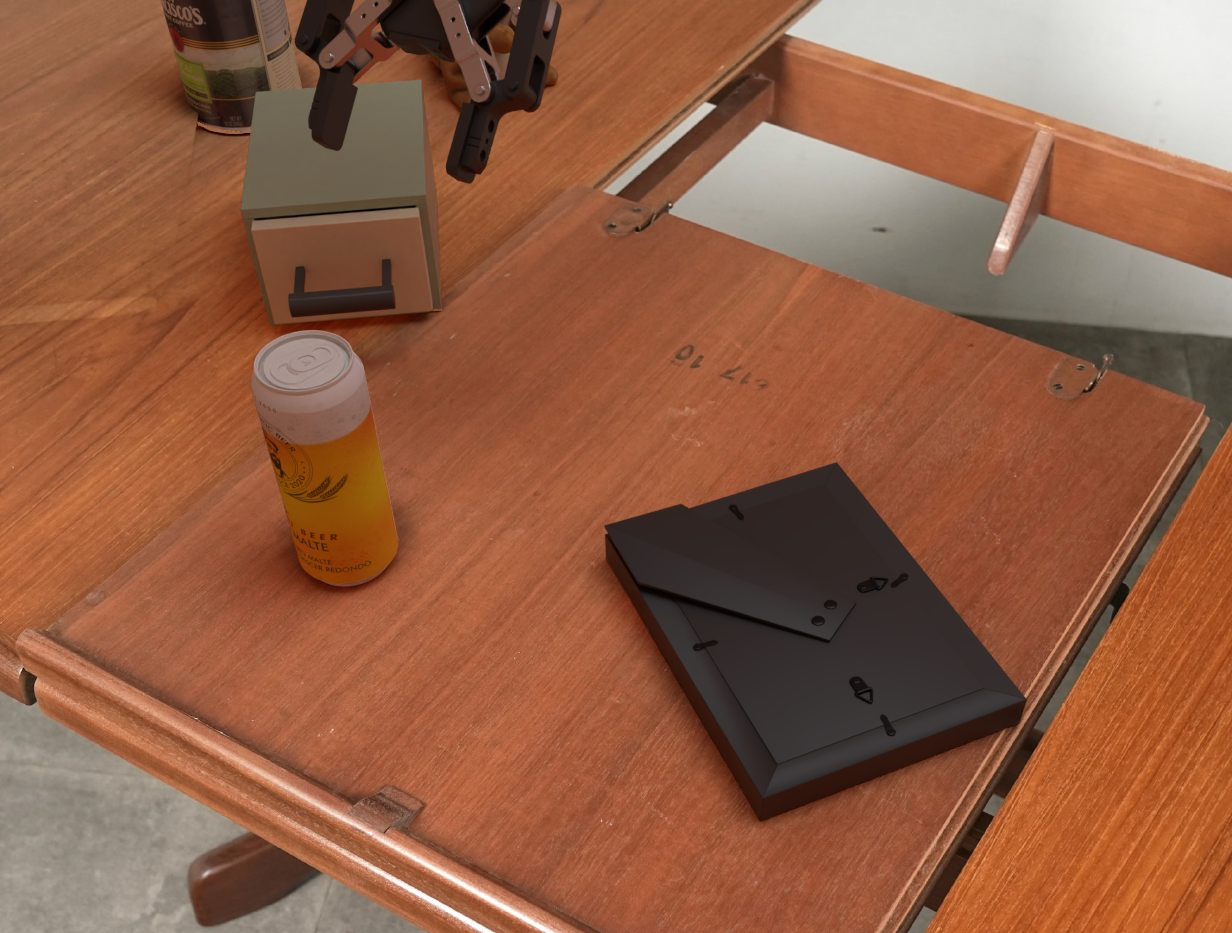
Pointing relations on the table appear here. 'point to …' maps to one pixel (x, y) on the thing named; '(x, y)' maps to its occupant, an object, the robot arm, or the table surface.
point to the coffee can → (231, 55)
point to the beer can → (325, 455)
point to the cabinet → (343, 164)
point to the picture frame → (807, 637)
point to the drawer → (343, 264)
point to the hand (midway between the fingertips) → (390, 162)
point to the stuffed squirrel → (501, 46)
